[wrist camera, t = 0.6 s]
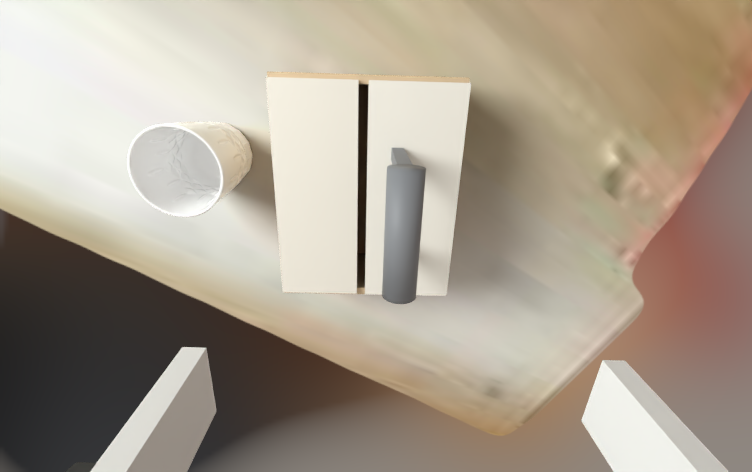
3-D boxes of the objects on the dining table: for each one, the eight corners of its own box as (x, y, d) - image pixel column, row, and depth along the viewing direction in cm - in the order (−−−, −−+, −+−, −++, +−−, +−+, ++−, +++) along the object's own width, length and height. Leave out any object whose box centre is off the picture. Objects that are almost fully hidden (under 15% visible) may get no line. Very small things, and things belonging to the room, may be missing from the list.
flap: (368, 80, 29) (366, 74, 19) (469, 83, 29) (516, 79, 19) (364, 291, 36) (362, 363, 26) (445, 292, 36) (471, 365, 26)
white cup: (251, 197, 41) (216, 228, 32) (181, 177, 40) (124, 202, 31) (264, 129, 39) (230, 141, 29) (189, 105, 38) (129, 110, 28)
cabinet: (290, 75, 37) (265, 71, 28) (447, 80, 37) (471, 77, 28) (300, 254, 44) (282, 295, 35) (431, 257, 44) (445, 298, 36)
